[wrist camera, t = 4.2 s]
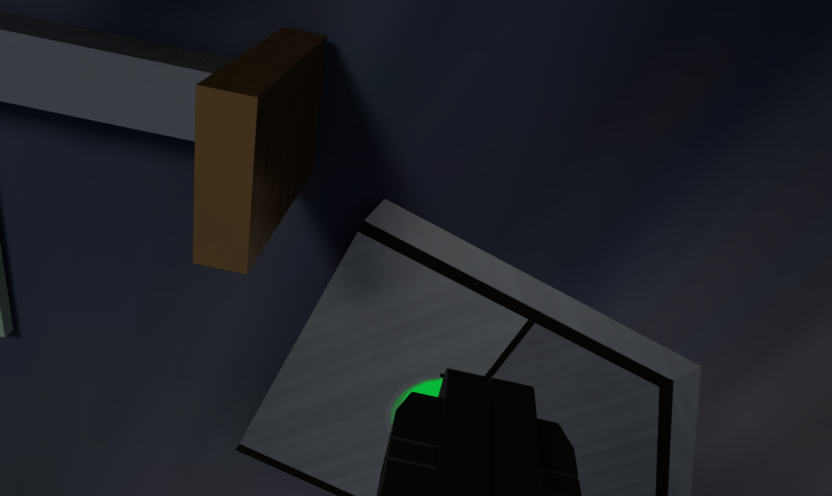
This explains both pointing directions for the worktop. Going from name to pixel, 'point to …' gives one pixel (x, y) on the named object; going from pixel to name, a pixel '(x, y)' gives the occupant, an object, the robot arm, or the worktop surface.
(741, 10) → the worktop surface
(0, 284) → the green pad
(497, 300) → the security device
